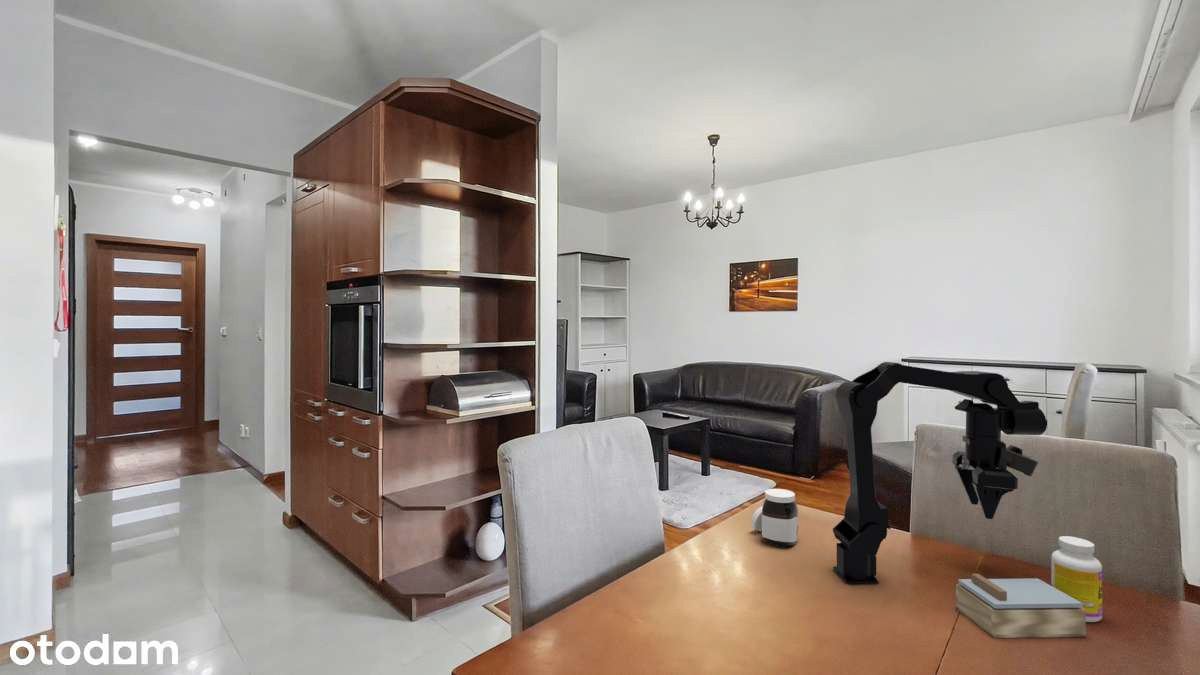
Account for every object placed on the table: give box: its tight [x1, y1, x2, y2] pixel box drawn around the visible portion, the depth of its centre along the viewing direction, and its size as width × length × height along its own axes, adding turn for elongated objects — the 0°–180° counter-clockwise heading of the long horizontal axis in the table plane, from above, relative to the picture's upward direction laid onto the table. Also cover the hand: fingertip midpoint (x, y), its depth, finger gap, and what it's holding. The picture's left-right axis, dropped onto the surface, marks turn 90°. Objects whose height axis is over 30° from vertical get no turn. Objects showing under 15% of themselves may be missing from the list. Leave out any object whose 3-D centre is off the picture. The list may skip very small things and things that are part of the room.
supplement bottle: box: [1050, 535, 1103, 623], centre depth 91 cm, size 7×7×13 cm
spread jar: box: [750, 488, 799, 547], centre depth 126 cm, size 12×11×12 cm
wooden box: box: [955, 583, 1087, 639], centre depth 89 cm, size 15×9×4 cm, turn 90°
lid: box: [957, 573, 1083, 609], centre depth 89 cm, size 14×9×2 cm, turn 90°
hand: (981, 511), depth 104 cm, fingers open, 9 cm apart
